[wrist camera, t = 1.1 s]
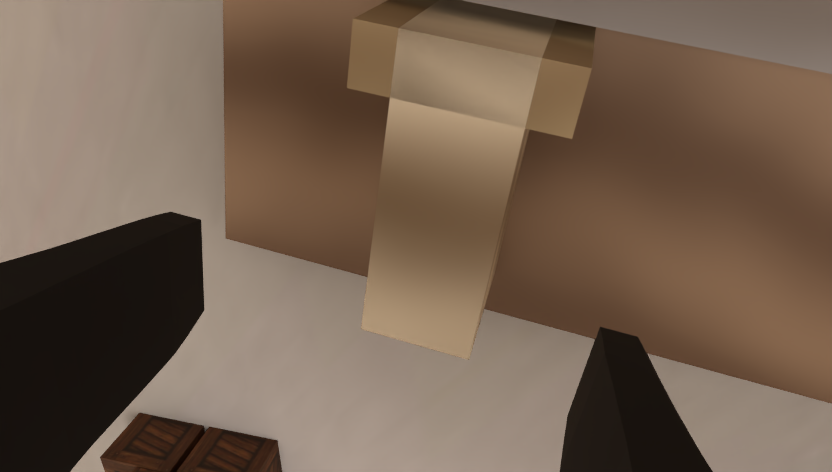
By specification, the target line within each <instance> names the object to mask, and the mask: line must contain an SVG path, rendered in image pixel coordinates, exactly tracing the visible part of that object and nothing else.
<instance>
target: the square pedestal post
mask: <svg viewBox="0 0 832 472" xmlns="http://www.w3.org/2000/svg"><path fill="white" fill-rule="evenodd" d="M595 30H596V27H593V26H588V25H583V24H578V23H573V22H568V21H563V20H558V19H553V18H548V17H543V16H538V15H533V14H528V13H523V12H518V11H513V10H508V9H503V8H498V7H493V6H488V5H483V4H478V3H473V2H468V1H463V0H387V1H385V2H383V3H381V4H380V5H378V6H376V7H374V8H372V9H370V10H368V11H366V12H364V13H363V14H361V15H359V16H357V17H355V18H353V24H352V36H351V47H350V58H349V69H348V81H347V88H349V89H354V90H358V91H363V92H367V93H371V94H376V95H380V96H385V97H389V98H390V101H389V109H388V117H387V125H386V133H385V141H384V149H383V157H382V165H381V173H380V181H379V189H378V197H377V205H376V213H375V221H374V229H373V237H372V245H371V253H370V261H369V269H368V277H367V285H366V293H365V301H364V309H363V317H362V325H361V329H363V330H366V331H370V332H373V333H377V334H380V335H384V336H387V337H391V338H394V339H398V340H401V341H405V342H408V343H412V344H415V345H419V346H422V347H426V348H429V349H433V350H436V351H440V352H443V353H447V354H450V355H454V356H457V357H461V358H464V359H468V360H469V358H470V355H471V351H472V348H473V344H474V341H475V338H476V334H477V331H478V327H479V324H480V321H481V317H482V314H483V310H484V307H485V304H486V300H487V297H488V293H489V290H490V287H491V283H492V280H493V276H494V273H495V269H496V265H497V261H498V257H499V253H500V249H501V245H502V241H503V237H504V232H505V228H506V224H507V220H508V216H509V212H510V208H511V204H512V200H513V196H514V192H515V188H516V184H517V180H518V176H519V172H520V167H521V163H522V159H523V155H524V151H525V147H526V143H527V139H528V135H529V131H530V130H534V131H539V132H543V133H548V134H552V135H556V136H561V137H565V138H570V139H572V137H573V134H574V130H575V127H576V123H577V119H578V116H579V112H580V109H581V105H582V102H583V98H584V95H585V91H586V88H587V84H588V81H589V77H590V74H591V70H592V63H593V52H594V41H595Z"/></svg>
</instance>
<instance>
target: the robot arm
mask: <svg viewBox="0 0 832 472" xmlns="http://www.w3.org/2000/svg"><path fill="white" fill-rule="evenodd" d="M203 311H204V291H203V262H202V234H201V220H200V219H196V218H192V217H188V216H185V215H181V214H177V213H173V212H168V213H163V214H159V215H155V216H152V217H148V218H145V219H141V220H138V221H135V222H131V223H128V224H125V225H122V226H119V227H116V228H113V229H110V230H107V231H104V232H100V233H97V234H94V235H91V236H88V237H85V238H82V239H79V240H76V241H73V242H69V243H66V244H63V245H60V246H57V247H54V248H51V249H47V250H44V251H40V252H37V253H33V254H30V255H26V256H23V257H20V258H16V259H13V260H9V261H6V262H2V263H0V472H70V471H71V470H72V468H73V467H74V466H75V465H76V464H77V462H78V461H79V460H80V459H81V458H82V456H83V455H84V454H85V453H86V452H87V451H88V449H89V448H90V447H91V446H92V445H93V444H94V442H95V441H96V440H97V439H98V438H99V437H100V436H101V435H102V434H103V433H104V432H105V430H106V429H107V428H108V427H109V426H110V425H111V424H112V423H113V422H114V421H115V419H116V418H117V417H118V416H119V415H120V414H121V413H122V412H123V411H124V410H125V409H126V407H127V406H128V405H129V404H130V403H131V402H132V401H133V400H134V399H135V398H136V397H137V395H138V394H139V393H140V392H141V391H142V390H143V389H144V388H145V387H146V386H147V384H148V383H149V382H150V381H151V380H152V379H153V378H154V377H155V376H156V374H157V373H158V372H159V371H160V370H161V369H162V368H163V367H164V365H165V364H166V363H167V362H168V361H169V360H170V359H171V357H172V356H173V355H174V354H175V353H176V351H177V350H178V348H179V347H180V346H181V344H182V343H183V341H184V340H185V339H186V337H187V336H188V334H189V333H190V331H191V330H192V328H193V327H194V325H195V324H196V322H197V320H198V319H199V317H200V316H201V314H202V313H203ZM560 472H713V471H712V470H711V468H710V467H709V465H708V464H707V462H706V461H705V459H704V457H703V456H702V454H701V452H700V451H699V449H698V447H697V446H696V444H695V442H694V441H693V439H692V437H691V435H690V434H689V432H688V430H687V428H686V427H685V425H684V423H683V421H682V420H681V418H680V416H679V414H678V413H677V411H676V409H675V407H674V405H673V404H672V402H671V400H670V398H669V396H668V394H667V392H666V390H665V388H664V386H663V385H662V383H661V381H660V379H659V377H658V375H657V373H656V371H655V369H654V367H653V365H652V363H651V361H650V359H649V357H648V355H647V353H646V351H645V349H644V347H643V345H642V343H641V341H640V340H639V338H638V337H637V336H634V335H630V334H626V333H622V332H619V331H615V330H611V329H607V328H604V327H600V328H599V331H598V334H597V336H596V339H595V342H594V345H593V347H592V350H591V353H590V356H589V358H588V361H587V364H586V367H585V369H584V372H583V375H582V378H581V380H580V383H579V386H578V389H577V391H576V394H575V397H574V400H573V402H572V405H571V408H570V411H569V413H568V417H567V424H566V430H565V437H564V444H563V452H562V459H561V467H560Z"/></svg>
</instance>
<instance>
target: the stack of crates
mask: <svg viewBox="0 0 832 472" xmlns="http://www.w3.org/2000/svg"><path fill="white" fill-rule="evenodd" d="M100 458H101V461H102V464H103V467H104V470H105V472H282V468H281V461H280V455H279V448H278V441H277V440H272V439H267V438H262V437H258V436H253V435H248V434H243V433H238V432H233V431H228V430H223V429H218V428H213V427H209V428H208V430H207V431H206V432H205V430H204V426H202V425H197V424H192V423H187V422H182V421H177V420H172V419H167V418H163V417H158V416H153V415H148V414H143V413H139V414H138V415H137V416H136V417H135V419H134V420H133V421H132V422H131V423H130V424H129V425H128V426H127V428H126V429H125V430H124V431H123V432H122V433H121V434H120V436H119V437H118V438H117V439H116V440H115V441H114V442H113V443H112V445H111V446H110V447H109V448H108V449H107V450H106V451H105V452H104V454H103V455H102V456H101V457H100Z"/></svg>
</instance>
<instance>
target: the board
mask: <svg viewBox="0 0 832 472" xmlns="http://www.w3.org/2000/svg"><path fill="white" fill-rule="evenodd" d="M385 1H387V0H223V34H224V125H225V216H226V238H227V239H230V240H234V241H238V242H241V243H245V244H249V245H252V246H256V247H260V248H263V249H267V250H271V251H274V252H278V253H282V254H285V255H289V256H293V257H296V258H300V259H304V260H307V261H311V262H315V263H318V264H322V265H326V266H329V267H333V268H337V269H340V270H344V271H348V272H351V273H355V274H359V275H362V276H366V277H368V269H369V261H370V253H371V245H372V237H373V229H374V221H375V213H376V205H377V197H378V189H379V181H380V173H381V165H382V157H383V149H384V141H385V133H386V125H387V117H388V109H389V101H390V98H389V97H385V96H380V95H376V94H371V93H367V92H363V91H358V90H354V89H349V88H347V81H348V69H349V58H350V47H351V36H352V24H353V18H355V17H357V16H359V15H361V14H363V13H364V12H366V11H368V10H370V9H372V8H374V7H376V6H378V5H380V4H381V3H383V2H385ZM463 1H468V2H473V3H478V4H483V5H488V6H493V7H498V8H503V9H508V10H513V11H518V12H523V13H528V14H533V15H538V16H543V17H548V18H553V19H558V20H563V21H568V22H573V23H578V24H583V25H588V26H593V27H596V30H595V41H594V52H593V63H592V70H591V74H590V77H589V81H588V84H587V88H586V91H585V95H584V98H583V102H582V105H581V109H580V112H579V116H578V119H577V123H576V127H575V130H574V134H573V137H572V139H570V138H565V137H561V136H556V135H552V134H548V133H543V132H539V131H534V130H530V131H529V135H528V139H527V143H526V147H525V151H524V155H523V159H522V163H521V167H520V172H519V176H518V180H517V184H516V188H515V192H514V196H513V200H512V204H511V208H510V212H509V216H508V220H507V224H506V228H505V232H504V237H503V241H502V245H501V249H500V253H499V257H498V261H497V265H496V269H495V273H494V276H493V280H492V283H491V287H490V290H489V293H488V297H487V300H486V304H485V307H484V309H487V310H491V311H494V312H498V313H502V314H505V315H509V316H513V317H516V318H520V319H524V320H527V321H531V322H535V323H538V324H542V325H546V326H549V327H553V328H557V329H560V330H564V331H568V332H571V333H575V334H579V335H582V336H586V337H590V338H593V339H596V336H597V334H598V331H599V328H600V327H604V328H607V329H611V330H615V331H619V332H622V333H626V334H630V335H634V336H637V337H638V338H639V340H640V341H641V343H642V345H643V347H644V349H645V351H646V353H649V354H652V355H656V356H660V357H663V358H667V359H671V360H674V361H678V362H682V363H685V364H689V365H693V366H696V367H700V368H704V369H707V370H711V371H715V372H718V373H722V374H726V375H729V376H733V377H737V378H740V379H744V380H748V381H751V382H755V383H759V384H762V385H766V386H770V387H773V388H777V389H781V390H784V391H788V392H792V393H795V394H799V395H803V396H806V397H810V398H814V399H817V400H821V401H825V402H828V403H832V0H463Z"/></svg>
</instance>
